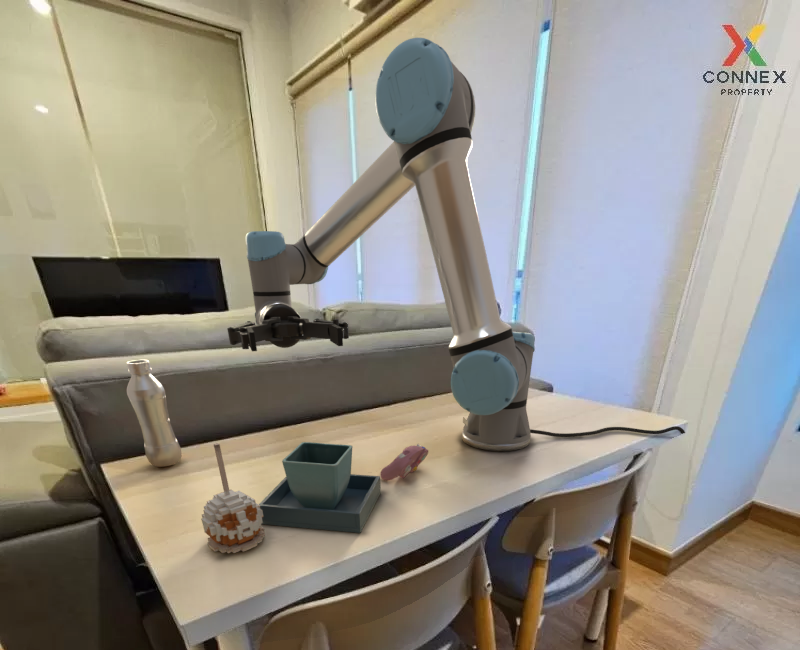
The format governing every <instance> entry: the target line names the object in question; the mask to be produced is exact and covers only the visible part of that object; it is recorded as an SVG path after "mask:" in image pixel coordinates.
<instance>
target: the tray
mask: <svg viewBox="0 0 800 650" xmlns="http://www.w3.org/2000/svg"><path fill="white" fill-rule="evenodd" d="M381 491H382V490H381V476H380V475H368V474H356V473H355V474H354V473H351V475H350V479H349V483H348V486H347V488H346V491H345V493H344V495H343V497H342V498H341V500H340V501H339V503H338V504H337V506H336V507H335V509H334V510H327V509H315V508H304V507H303V506H302V505H301V504H300V503H299V502H298V501H297V499H296V498H295V497H294V495H293V493H292V492H291V489H290V487H289V484H288V481H287V477H286V476H285V477H284V478H283V479H282V480H281V481H280V482H279V483H278V484H277V485H276V486H275V487H274V488H273V489H272V490H271V491H270V492H269V493H268V494H267V495H266V496H265V497H264V498H263V499H262V500H261V501H260V502H259V503H258V505H260V509H261V510H262V511H263V516H264V517H262V521H263V523H261V525H268V526H269V525H270V526H278V527H289V528H301V529H313V530H323V531H334V532H346V533H355V534H361V533H362V531H363V530H364V527H365V525H366V523H367V521H368V519H369V517H370V515H371V513H372V511H373V510H374V507H375V505H376V503H377V501H378V499H379V497H380V495H381V493H382V492H381Z"/></svg>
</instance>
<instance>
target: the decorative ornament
mask: <svg viewBox="0 0 800 650" xmlns="http://www.w3.org/2000/svg"><path fill="white" fill-rule="evenodd" d="M213 448H214V453H215V457H216V462H217V467H218V470H219V476H220V480H221V484H222V485H221V486H222V489H223V491H221V492H219V493H216V494H213V497H212V499H208V500H207V501H206V503H205V505H203V513H202V514H201V518H200V520H201V524H202V527H203V531H204V533H205V534H206V536H209V537H208V538H207V546H208V547H209V548H210V549H211V550H213V552H215V553H216V552H218V551H219V552H221V553H222V554H225V553H227V554H230V553H233V554H235V553H238V552H240V551H242V552H246V551H248V550H251V549H253V548H255V547H258V544H260V543H262V542H263V540H264V539H265V537H266V534H265V528H264V527H262V524H261V523H263V521H262V517H264V516H263V511H262V510H261V509H260V505H259V503H257V502H256V499H254V498H253V497H252V496H250V495H248V494H246V493H244V492H242V491H241V490H237V491H235V490H233V489H230V487H229V481H228V478H227V473H226V468H225V464H224V458H223V454H222V449H221V444H220V443H214V444H213Z"/></svg>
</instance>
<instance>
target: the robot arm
mask: <svg viewBox="0 0 800 650" xmlns="http://www.w3.org/2000/svg"><path fill="white" fill-rule="evenodd" d="M374 93H375V97H374V98H375V99H374V100H375V101H374V102H375V112H376V115H377V118H378V122H379V124H380V125H381V128H382V129H383V131H384V133H385V134H386V135H387V137H388V138H389V139H391V140H392V141H393V142H392V143H391V144H390V145H389V146H388V147H387V148H386V149H385V150H384V151H383V152H382V153H381V154H380V155H379V156H378V157H377V158H376V159H375V160H374V162H373V163H371V164H370V166H369V167H368V168H367V169H366V170H365V171H364V172H363V173H362V174H361V175H360V176H359V177H358V178H357V179H356V180H355V181H354V182H353V183H352V184H351V185H350V186H349V188H347V190H345V191H344V193H343V194H342V195H341V196H339V198H338V199H337V200H336V201H335V202H334V203H333V204H332V205H331V206H330V207H329V208H328V209H327V210H326V211H325V212H324V213H323V214H322V216H321V217H320V218H319V219H318V220H317V221H316V222H315V223H314V224H313V225H312V226H311V227H310V228H309V229H308V230H307V231H306V232H305V233H304V235H302V236H301V238H300V239H299V240H298V241H296V242H295V243H293V244H292V243H291V244H290V243H286V242H285V236H284V234H283V233H282V232H280V231H277V230H275V231H274V230H254V231H252V230H251V231H249V232H247V233H246V235H245V244H246V245H245V247H246V259H247V264H248V269H249V276H250V281H251V288H252V293H253V296H252V297H253V302H254V303H253V305H254V310H255V311H254V312H255V313H254V318H255V322H253V321H250V320H247V321H245V322H243V323H241V324H238V325H237V324H236V325H233V326H228V327H227V329H226V330H227V335H228V341H229V344H230V345H231V346H236V345H239V344H241V350H251V352H257V351H258V348H257V343H259V342H263V341H264V342H269V343H271V344H272V345H274V346H275V347H278V348H281V349H288V348H292V347H293V346H295V345H297V344H298V343H299V342H300V340H303V341H306V340H310V339H311V338H313V339H327V340H329V341H330V342H331V343H332V344H334V345H336V346H338V347H343V346H344V341H343V340H348V339H350V333H349V323H348V322H346V321H344V322H342V321H340V319H339V318H333V319H332V320H324V319H321V318H315V319H313V320H312V321H310V319H309V318H306V317H305V318H304V317H303V318H302V317H301V315H300V313H298V311H297V310H295V308H293V305H292V296H291V286H293V285H313V284H315V283H319V282H321V281H322V280H323V279H325V277H326V276H327V273H328V270H329V266H331V264H332V263H334V262H335V261H336V260H337V259H338V258H339V257H340V256H341V255H342V254H343V253H345V251H347V250H348V249H349V248H350V247H351V246H352V245H353V244H354V243H355V242H356V241H357V240H359V239H360V237H362V235H364V234H365V233H366V232H367V231H368V230H369V229H370V228H372V226H374V225H375V224H376V223H377V221H379V220H380V219H381V218H382V217H383V216H384V215H386V213H388V212H389V210H390V209H392V208H393V207H394V206H395V205H396V204H397V203H398V202H399V201H401V199H403V197H404V196H406V195H407V194H408V193H409V192H411V190H412V189H413V188H414V187H415V190H416V193H417V197H418V202H419V205H420V209H421V213H422V217H423V220H424V225H425V229H426V232H427V237H428V241H429V243H430V248H431V252H432V256H433V260H434V263H435V268H436V271H437V275H438V279H439V283H440V287H441V291H442V296H443V299H444V302H445V306H446V310H447V314H448V318H449V323H450V327H451V331H452V338H451V340H450V342H449V345H448V346H447V348H448V351H449V352H448V353H449V356H450V359H451V363H452V368H453V369H452V371H451V375H450V389H451V394H452V396H453V398H454V400H455V401H456V403H457V404H458V405H459V406H460V407H461V408H462V409H464V410H465V411H467V412H469V413H468V416H467V418H466V417H464V416H463V417H462V423H463V425H464V426H463V428H462V435H461V436H462V437H461V440H462V441H463V442H464V443H465V444H466V445H468V446H469V447H472V448H475V449H479V450H484V451H493V452H509V451H517V450H522V449H523V448H526V447H528V446H530V443H531V436H532V435H531V434H536V435H543V436H547V437H555V438H577V437H586V436H593V435H594V436H595V435H598V434H602V433H605V432H611V431H612V432H613V431H621V432H622V431H623V432H632V433H638V434H645V435H662V434H666V433H668V432H672V431H678V432H679V433H680V434H686V431H685V430H684V429H683V427H681V426H678V425H677V426H676V425H673V426H669V427H667V428H663V429H658V430H653V429H652V430H650V429H648V430H647V429H641V428H634V427H626V426H608V427H603V428H599V429H596V430H592V431H583V432H582V431H581V432H568V433H563V432H562V433H560V432H551V431H545V430H539V429H532V428H531V427H530V421H529V416H528V411H527V404H528V396H529V390H530V389H529V388H530V381H531V373H532V365H533V359H534V352H535V350H536V347H535V341H536V340H535V339H536V337H535V336H534V334H533V333H531V332H520V331H519V332H518V331H517V332H516V331H513V329H512V325H510V324H509V323H507V322H505V321H504V320H502V319H501V316H500V311H499V307H498V306H499V305H498V301H497V296H496V292H495V288H494V283H493V278H492V274H491V269H490V264H489V260H488V256H487V250H486V245H485V242H484V237H483V233H482V228H481V223H480V218H479V214H478V210H477V205H476V201H475V196H474V190H473V186H472V182H471V177H470V173H469V168H468V157H469V155H470V153H471V151H472V148H473V144H474V143H473V138H472V132H473V128H474V125H475V120H476V119H475V118H476V101H475V96H474V92H473V89H472V86H471V84H470V82H469V81H468V79H467V77H466V76H465V75H464V74H463V73H462V72H461V71H460V70H459V69H458V68H457V66H456V65H455V64H454V63H453V62H452V60H451V58H450V56H449V54H448V53H447V51H446V50H445V49H444V48H443V47H442V46H440V45H439V44H438V43H435V42H434V41H432V40H430V39H429V38H425V37H411V38H408V39H406V40H404V41H402V42H400V43H399V44H398V45H396V47H395V48H393V49H392V50H391V52H390V53H389V55H388V56H387V57H386V59H385V60H384V62H383V64H382V66H381V70H380V72H379V76H378V78H377V81H376V85H375V92H374Z"/></svg>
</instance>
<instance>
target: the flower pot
mask: <svg viewBox="0 0 800 650" xmlns="http://www.w3.org/2000/svg"><path fill="white" fill-rule="evenodd" d="M352 461H353V445H351V444H339V443H338V444H337V443H323V442H311V441H302V442H300V443H299V444H298V445H297V446H296V447H295V448H294V449H293V450H292V451H291V452H290V453H289V454H287V455H286V456H285V457H284V458H283V459H282V461H281V463H282V466H283V471H284V473H285V477H287V481H288V484H289V487H290V489H291V492H292V493H293V495H294V497H295V498H296V499H297V501H298V502H299V503H300V504H301V505H302V506H303V507H304V508H315V509H327V510H334V509H335V507H336V506H337V504H338V503H339V501H340V500H341V498H342V497H343V495H344V493H345V491H346V488H347V486H348V483H349V479H350V475H351V474H352Z"/></svg>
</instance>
